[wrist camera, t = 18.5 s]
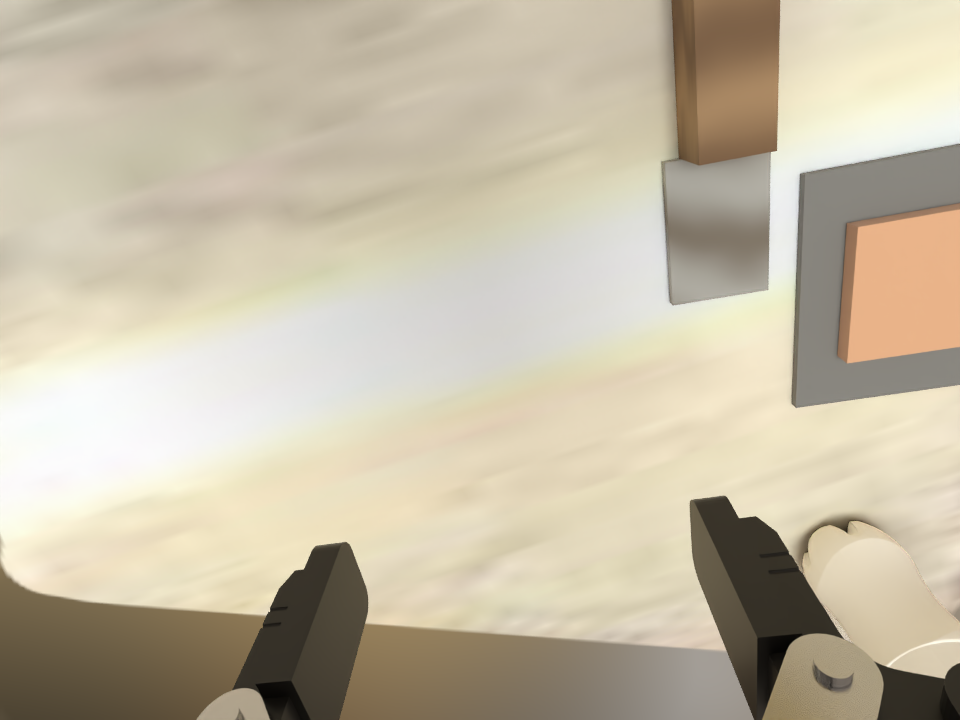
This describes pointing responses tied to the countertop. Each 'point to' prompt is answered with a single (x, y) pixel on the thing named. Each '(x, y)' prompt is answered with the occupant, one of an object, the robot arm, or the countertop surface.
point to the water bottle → (881, 599)
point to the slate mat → (821, 266)
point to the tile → (901, 285)
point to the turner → (721, 147)
